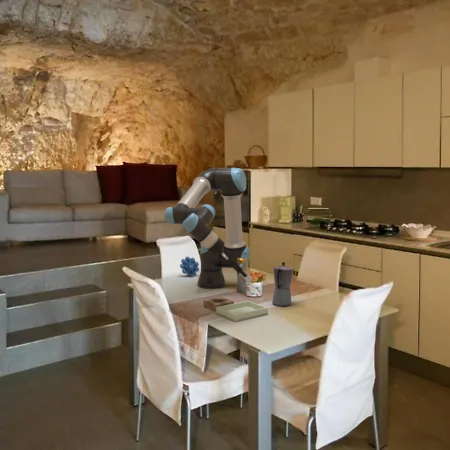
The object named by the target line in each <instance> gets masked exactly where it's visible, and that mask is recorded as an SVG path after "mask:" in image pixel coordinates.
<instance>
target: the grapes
mask: <svg viewBox="0 0 450 450" xmlns="http://www.w3.org/2000/svg"><path fill="white" fill-rule="evenodd" d="M199 264H200V263H199V262H198V261H196V259H195V258H194V257H189V256H185V258H182V259H181V264H180V265H179V267H180V269H181V272H182V273H183V274H184V275H186V276H187V277H191V276H194V277H195V276H196V275H197V273H198V272H199V271H200V267H199Z"/></svg>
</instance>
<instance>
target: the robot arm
mask: <svg viewBox="0 0 450 450" xmlns="http://www.w3.org/2000/svg"><path fill="white" fill-rule="evenodd" d="M246 189H247V176H246V174H245V171H244V170H243V168H238V167H211V168H209V169H207V170H203V171H202V172H201V173H199V174H198V175H197V176H196V177H195V178H194V179H193V181H192V185H191V186H190V188H189V189H188V190H187V191H186V193H185V194H184V195H183V196H182V197H181V198H180V200H179V201H178V202H177V204H175V206H168V207H167V208H166V209H165V211H164V219H165V221H166V224H171V225H182V227H183V228H184V229H185V231H187V233H189V234H190V235H191V236H192V237H193V238H194V239H195V240H196V241H197V242H198V243H199V244H200V254H199V255H200V273H199V276H198V280H197V286H198V288H201V289H208V290H209V289H210V290H211V289H219V288H224V287H226V279H225V276H224V273H223V269H224V268H226V269H233V270H235V271H236V276H237V275H238V274H240V275H241V276H242V277H243V278H244V279H245V280H246V283H248V284H250V283H252V282H253V281H254V279H253V277H252V276H251V274H250V273H248V272H247V270H246V271H245V270H244V269H242V268H241V267H240V266H239V265H238V264H237V258H246V267H247V266H248V264H249V261H250V256H251V250H250V247H249V246H247V245H246V244H247V242H245V241H244V240H243V239H244V238H243V225H242V220H243V219H242V202H241V197H242V196H243V194H244V192H245V191H246ZM213 191H219V193H220V196H221V197H222V198H223V207H224V208H223V209H224V223H225V238H226V241H223V240H222V238H221V237H219V236H218V234H216V233H215V232H214V230H212V229H211V227H209V225H211V223H212V221H213V220H214V218H215V216H216V209H215V208H214V207H213V206H212V205H210V204H207V203H206V204H202V205H201V206H199V207H197V205H198V204H199V203H200V201H201V200H202V199H203V197H204V196H205V195H206V194H208V193H209V192H213Z"/></svg>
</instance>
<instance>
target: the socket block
mask: <svg viewBox="0 0 450 450" xmlns="http://www.w3.org/2000/svg"><path fill="white" fill-rule="evenodd" d="M230 304H235V303H234V301H233V300H231V299H228V298H225V297H223V296H218V297H212V298H209V299H203V307H204V308H206V309H208V310H212V311H214V312H216V307H220V306H225V305H230Z"/></svg>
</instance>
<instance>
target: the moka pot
mask: <svg viewBox="0 0 450 450" xmlns="http://www.w3.org/2000/svg"><path fill="white" fill-rule="evenodd" d="M293 273H294V269H293V267H291V266H288V265H287V266H286V262H285V261H283V262H281V265H278V266H273V278H274V292H273V297H272V302H271V303H272V304H273V305H276V306H284V307H285V306H291V305H292V297H291V296H292V295H291V294H292V293H291V285H292V279H293Z"/></svg>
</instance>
